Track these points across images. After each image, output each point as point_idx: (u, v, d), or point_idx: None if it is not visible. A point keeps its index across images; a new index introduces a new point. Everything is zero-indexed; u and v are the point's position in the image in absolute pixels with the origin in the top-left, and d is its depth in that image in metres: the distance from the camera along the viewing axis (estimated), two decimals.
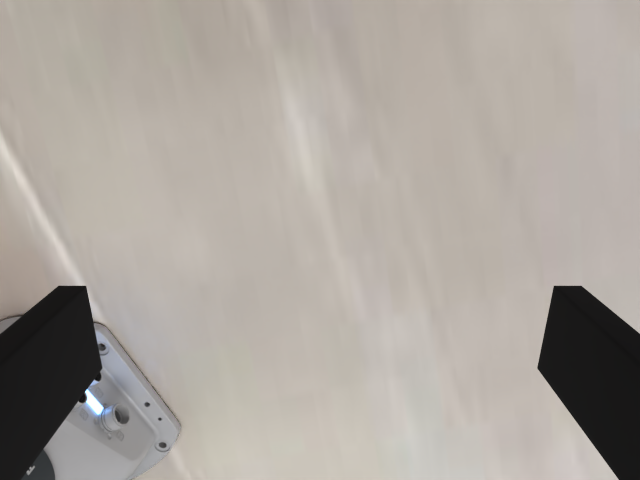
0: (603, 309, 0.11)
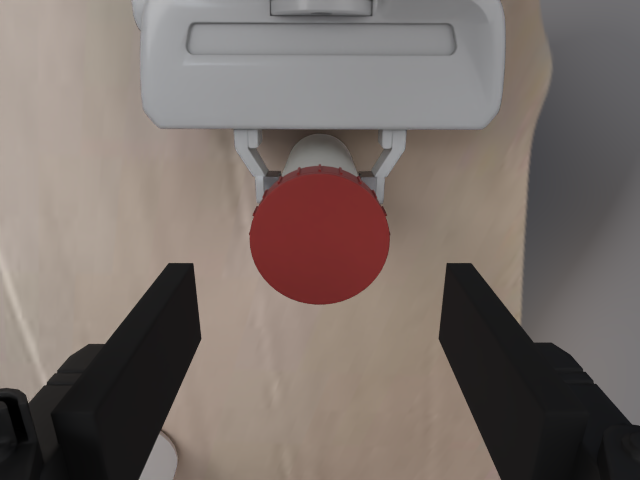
0: (480, 281, 0.13)
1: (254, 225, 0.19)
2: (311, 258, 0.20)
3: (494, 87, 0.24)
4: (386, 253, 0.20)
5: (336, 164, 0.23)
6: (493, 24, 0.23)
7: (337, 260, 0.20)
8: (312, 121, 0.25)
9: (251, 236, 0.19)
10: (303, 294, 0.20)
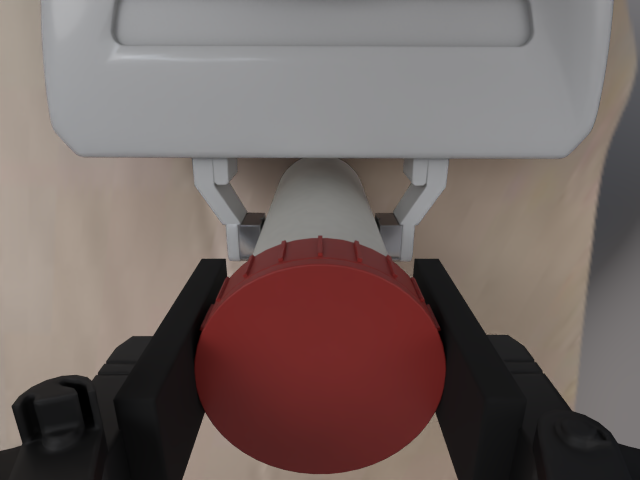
0: (444, 276, 0.13)
1: (201, 352, 0.10)
2: (305, 404, 0.11)
3: (589, 96, 0.16)
4: (439, 396, 0.11)
5: (346, 218, 0.15)
6: None
7: (351, 407, 0.11)
8: (308, 147, 0.17)
9: (196, 369, 0.11)
10: (291, 459, 0.12)
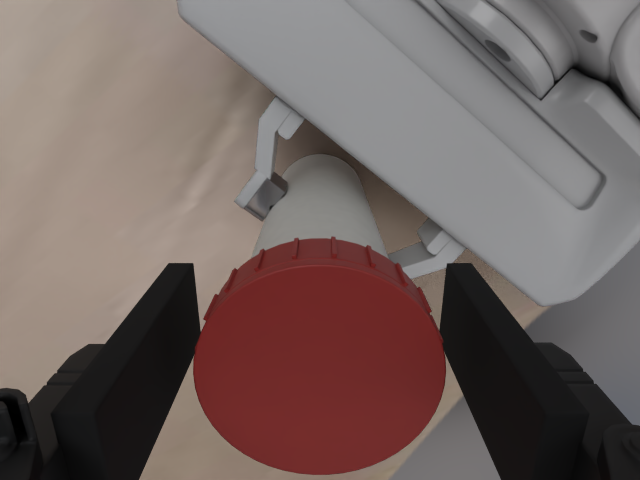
0: (480, 281, 0.13)
1: (218, 427, 0.11)
2: (330, 406, 0.11)
3: (591, 276, 0.19)
4: (426, 317, 0.10)
5: (382, 245, 0.15)
6: None
7: (367, 381, 0.11)
8: (379, 163, 0.17)
9: (230, 441, 0.11)
10: (368, 453, 0.11)
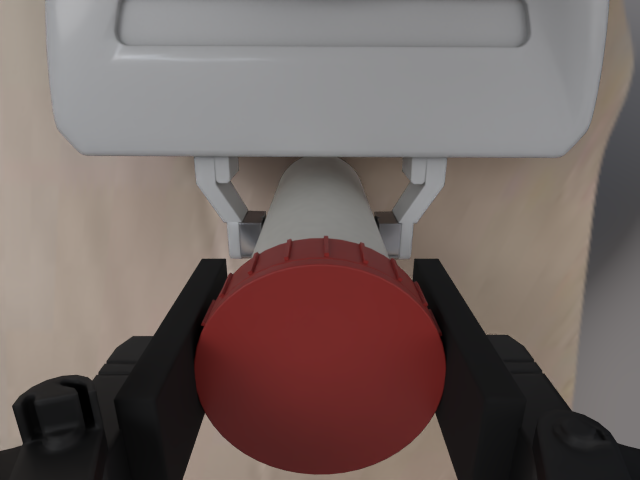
0: (443, 276, 0.13)
1: (276, 465, 0.12)
2: (348, 395, 0.11)
3: (585, 96, 0.16)
4: (359, 271, 0.10)
5: (346, 216, 0.15)
6: None
7: (359, 356, 0.10)
8: (309, 145, 0.17)
9: (295, 470, 0.12)
10: (416, 414, 0.11)
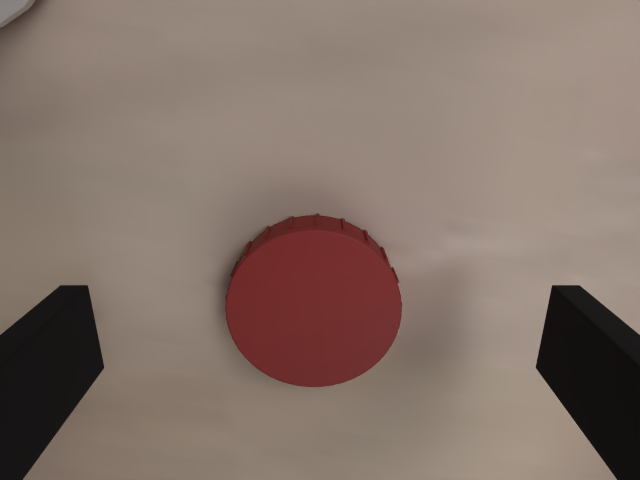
0: (601, 308, 0.11)
1: (283, 379, 0.16)
2: (333, 324, 0.15)
3: None
4: (339, 235, 0.14)
5: None
6: None
7: (340, 295, 0.15)
8: None
9: (296, 384, 0.16)
10: (381, 339, 0.16)
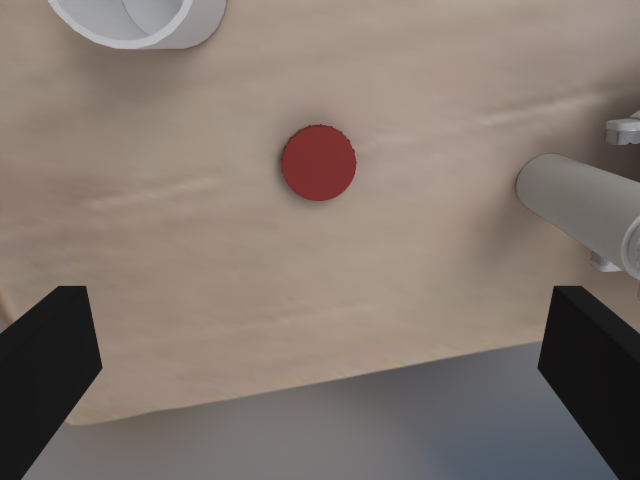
0: (603, 309, 0.11)
1: (305, 196, 0.37)
2: (327, 170, 0.37)
3: None
4: (329, 129, 0.36)
5: None
6: None
7: (330, 156, 0.36)
8: None
9: (311, 199, 0.38)
10: (347, 177, 0.37)
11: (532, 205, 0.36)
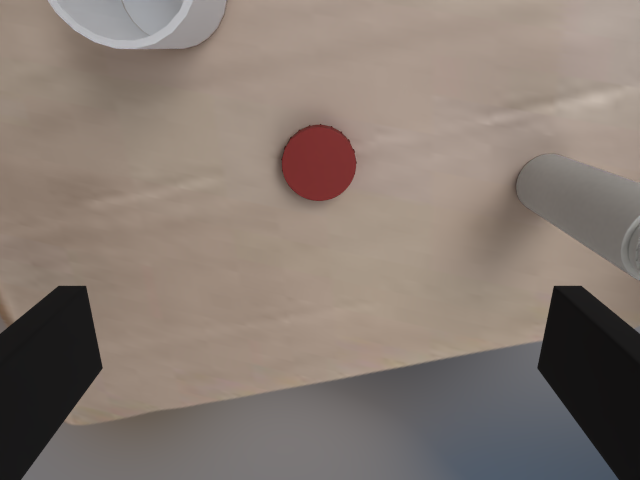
0: (603, 309, 0.11)
1: (305, 196, 0.37)
2: (327, 170, 0.37)
3: None
4: (329, 129, 0.36)
5: None
6: None
7: (330, 156, 0.36)
8: None
9: (311, 199, 0.38)
10: (347, 177, 0.37)
11: (532, 205, 0.36)
